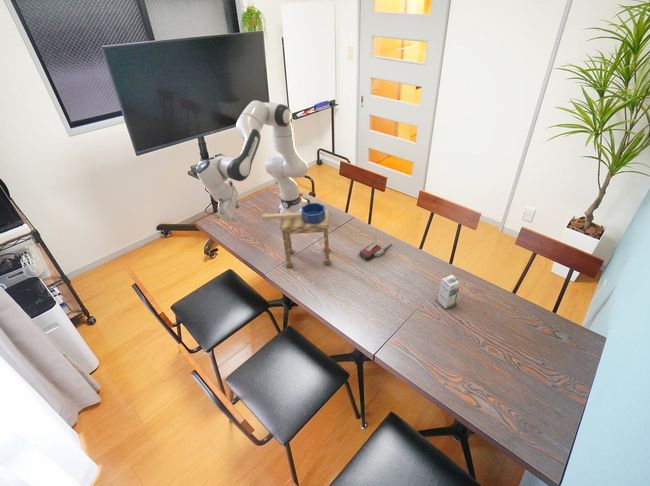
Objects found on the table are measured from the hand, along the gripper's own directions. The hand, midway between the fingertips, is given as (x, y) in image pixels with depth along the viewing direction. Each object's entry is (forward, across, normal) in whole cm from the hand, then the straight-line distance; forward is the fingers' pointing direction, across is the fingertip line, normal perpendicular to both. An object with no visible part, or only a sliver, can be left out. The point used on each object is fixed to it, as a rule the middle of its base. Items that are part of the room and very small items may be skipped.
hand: (236, 214), depth 160 cm
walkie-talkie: (+45, -5, -60) cm, 75 cm away
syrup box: (+45, -44, -88) cm, 109 cm away
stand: (+35, -7, -25) cm, 44 cm away
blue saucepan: (+9, -3, -26) cm, 28 cm away
